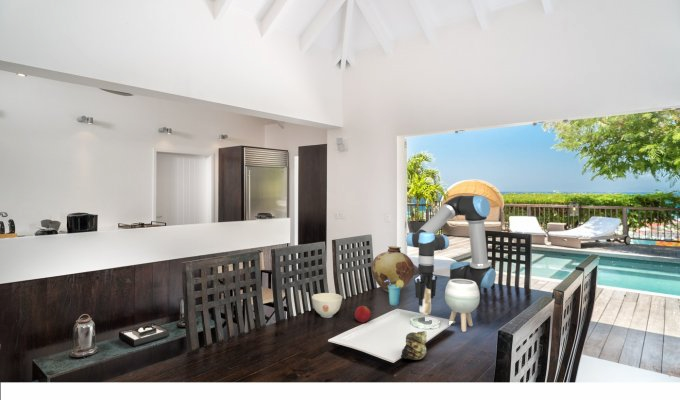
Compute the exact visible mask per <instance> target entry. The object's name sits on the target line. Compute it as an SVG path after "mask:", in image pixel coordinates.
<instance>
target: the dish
mask: <svg viewBox="0 0 680 400" xmlns="http://www.w3.org/2000/svg"><path fill="white" fill-rule="evenodd" d="M423 316H424V315H417V316H412V317H411V318H410V319H409V321H410V325H411V326H412V327H414V328H416V327H418V328H417V329H420V328H432V327H435V326H437V325H439V323H440V324H441V321H440V320H439V321H438V323H437V324H432V320H429V321H425V317H423ZM431 324H432V325H431Z"/></svg>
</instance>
